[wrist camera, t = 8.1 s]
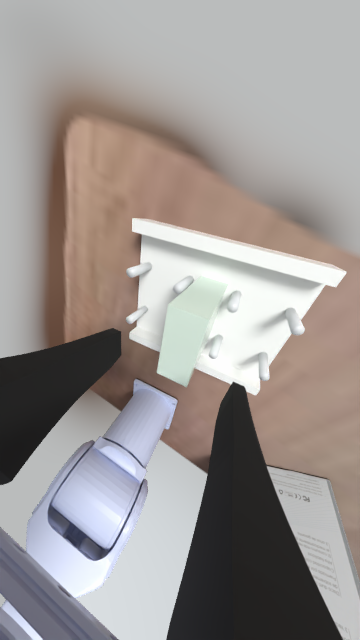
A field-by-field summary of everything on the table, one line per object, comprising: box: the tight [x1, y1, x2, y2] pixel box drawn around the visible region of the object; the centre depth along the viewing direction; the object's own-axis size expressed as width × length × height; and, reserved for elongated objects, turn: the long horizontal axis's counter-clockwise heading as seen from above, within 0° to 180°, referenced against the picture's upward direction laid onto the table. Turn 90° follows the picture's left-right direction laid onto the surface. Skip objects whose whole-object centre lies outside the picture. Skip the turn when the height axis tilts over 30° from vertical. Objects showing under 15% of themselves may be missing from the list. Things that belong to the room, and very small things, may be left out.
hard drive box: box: [267, 466, 360, 640], centre depth 19 cm, size 16×8×20 cm, turn 113°
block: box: [157, 276, 228, 387], centre depth 14 cm, size 6×2×7 cm, turn 168°
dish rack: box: [126, 218, 347, 395], centre depth 16 cm, size 13×16×4 cm
